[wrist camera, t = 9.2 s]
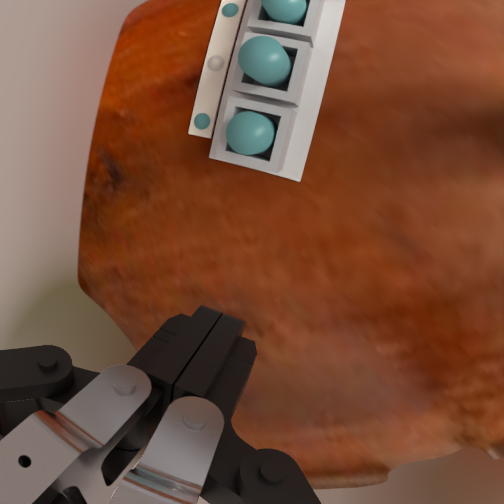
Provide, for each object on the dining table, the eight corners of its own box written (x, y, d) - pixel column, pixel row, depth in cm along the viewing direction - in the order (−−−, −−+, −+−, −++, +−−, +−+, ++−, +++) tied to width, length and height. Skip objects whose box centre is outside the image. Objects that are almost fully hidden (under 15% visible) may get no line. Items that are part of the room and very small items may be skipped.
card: (246, 0, 32) (245, -2, 31) (211, 138, 40) (209, 138, 39) (223, -2, 32) (222, -4, 32) (189, 133, 40) (187, 133, 40)
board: (345, 0, 29) (346, -16, 25) (300, 181, 39) (295, 187, 34) (253, -15, 31) (243, -31, 26) (210, 157, 41) (194, 160, 36)
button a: (312, 4, 30) (307, -17, 24) (304, 34, 31) (299, 17, 26) (275, -2, 30) (265, -22, 25) (267, 28, 32) (256, 11, 27)
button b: (296, 54, 31) (289, 39, 26) (287, 91, 33) (278, 82, 27) (257, 47, 32) (243, 32, 26) (248, 83, 33) (233, 73, 28)
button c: (283, 120, 36) (274, 116, 30) (274, 156, 38) (263, 159, 32) (246, 111, 36) (231, 107, 31) (238, 147, 38) (221, 149, 33)
